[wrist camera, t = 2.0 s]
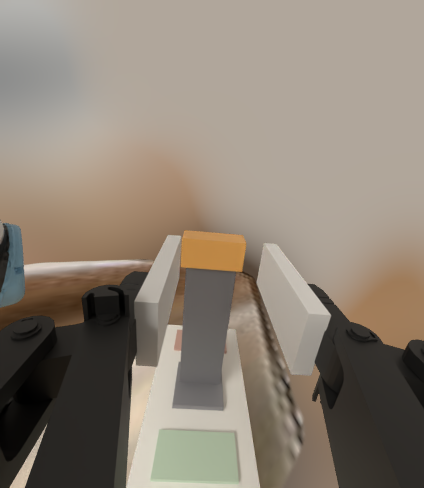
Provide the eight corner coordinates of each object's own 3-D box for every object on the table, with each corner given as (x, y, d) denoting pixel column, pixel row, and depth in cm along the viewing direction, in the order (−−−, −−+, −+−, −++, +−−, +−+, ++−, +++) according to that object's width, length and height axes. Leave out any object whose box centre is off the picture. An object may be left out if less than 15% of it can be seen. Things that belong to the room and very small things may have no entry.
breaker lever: (177, 367, 30) (184, 230, 24) (222, 370, 31) (242, 235, 24) (174, 384, 28) (182, 238, 21) (223, 387, 28) (246, 243, 22)
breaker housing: (165, 351, 42) (166, 321, 40) (231, 355, 43) (235, 326, 40) (124, 538, 21) (121, 500, 19) (252, 541, 22) (264, 504, 20)
